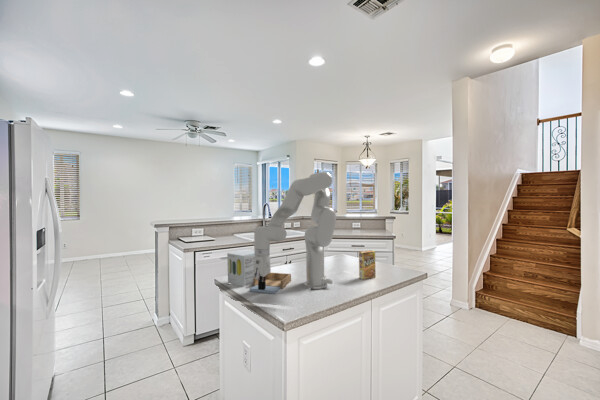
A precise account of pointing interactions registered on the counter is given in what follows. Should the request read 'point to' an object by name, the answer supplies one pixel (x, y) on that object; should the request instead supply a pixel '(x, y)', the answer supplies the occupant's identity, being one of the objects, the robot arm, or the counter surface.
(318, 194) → the robot arm
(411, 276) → the counter surface
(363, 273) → the candy box
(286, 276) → the crate
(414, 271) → the counter surface
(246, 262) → the supplement box
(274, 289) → the panel
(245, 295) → the counter surface
